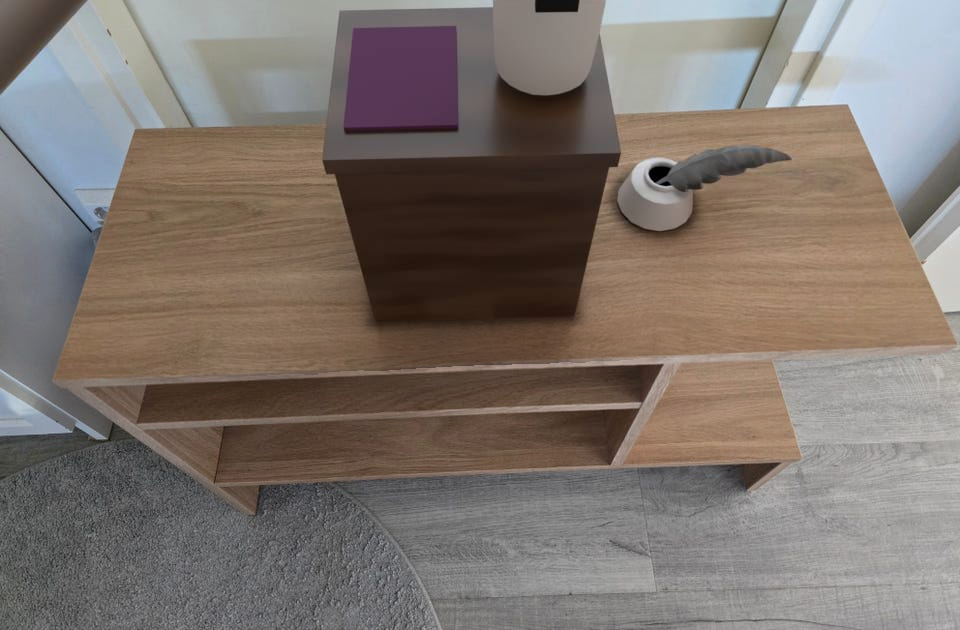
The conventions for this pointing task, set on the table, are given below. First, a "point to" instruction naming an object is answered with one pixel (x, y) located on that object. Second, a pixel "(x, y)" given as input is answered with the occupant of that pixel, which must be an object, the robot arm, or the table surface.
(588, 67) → the cup
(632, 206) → the inkwell
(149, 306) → the table surface
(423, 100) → the purple rectangular slab
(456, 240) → the box
